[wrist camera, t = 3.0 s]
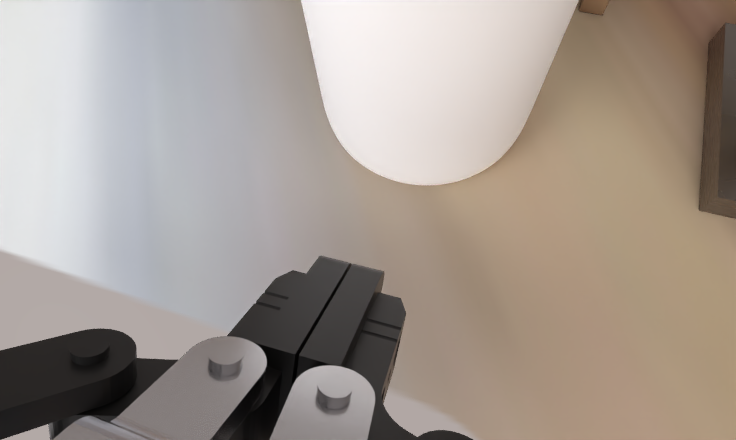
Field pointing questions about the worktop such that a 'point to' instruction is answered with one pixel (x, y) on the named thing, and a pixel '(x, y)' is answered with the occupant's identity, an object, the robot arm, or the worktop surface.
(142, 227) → the worktop surface
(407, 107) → the mug
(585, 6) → the tray frame
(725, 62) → the balance
